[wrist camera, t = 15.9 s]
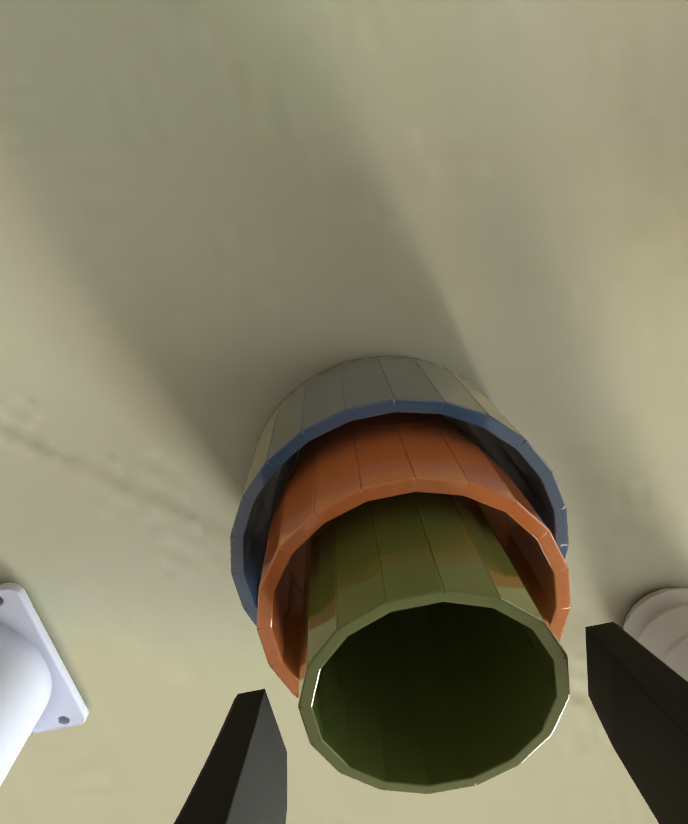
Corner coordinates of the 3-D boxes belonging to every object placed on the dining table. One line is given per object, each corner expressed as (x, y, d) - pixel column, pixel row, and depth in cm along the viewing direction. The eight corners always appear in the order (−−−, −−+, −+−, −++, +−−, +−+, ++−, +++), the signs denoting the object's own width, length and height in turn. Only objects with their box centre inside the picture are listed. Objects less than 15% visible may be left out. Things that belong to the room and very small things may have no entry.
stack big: (287, 608, 22) (277, 710, 18) (219, 387, 19) (185, 442, 14) (521, 562, 22) (575, 654, 17) (498, 329, 18) (559, 365, 14)
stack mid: (305, 583, 22) (298, 753, 15) (256, 409, 19) (217, 517, 12) (493, 546, 22) (576, 701, 14) (471, 364, 19) (561, 447, 12)
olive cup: (328, 624, 18) (332, 812, 12) (289, 480, 16) (270, 623, 10) (493, 592, 17) (575, 768, 12) (474, 442, 15) (562, 567, 10)
